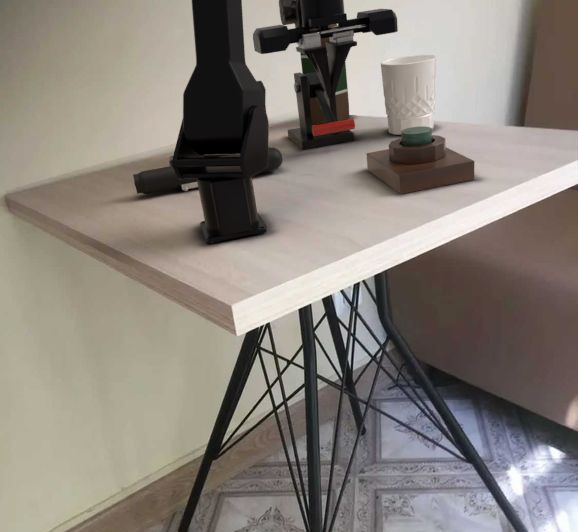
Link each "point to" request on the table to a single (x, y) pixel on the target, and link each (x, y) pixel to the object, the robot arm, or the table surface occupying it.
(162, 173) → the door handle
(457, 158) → the button block
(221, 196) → the robot arm
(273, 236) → the table surface
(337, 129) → the lever
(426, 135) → the button
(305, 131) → the bracket
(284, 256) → the table surface
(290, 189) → the table surface
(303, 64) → the beer bottle
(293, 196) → the table surface
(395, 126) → the white cup
